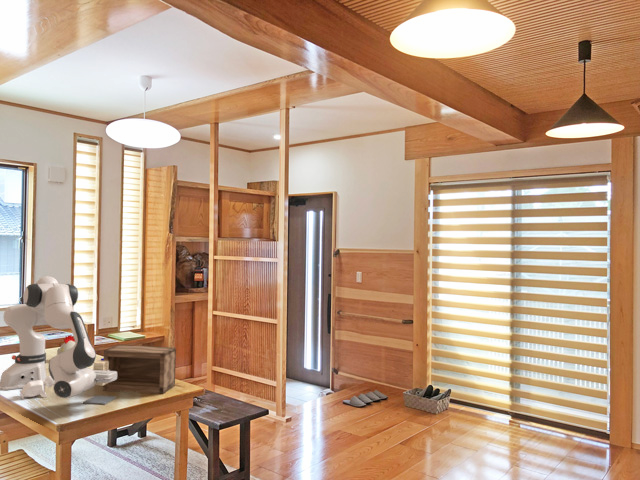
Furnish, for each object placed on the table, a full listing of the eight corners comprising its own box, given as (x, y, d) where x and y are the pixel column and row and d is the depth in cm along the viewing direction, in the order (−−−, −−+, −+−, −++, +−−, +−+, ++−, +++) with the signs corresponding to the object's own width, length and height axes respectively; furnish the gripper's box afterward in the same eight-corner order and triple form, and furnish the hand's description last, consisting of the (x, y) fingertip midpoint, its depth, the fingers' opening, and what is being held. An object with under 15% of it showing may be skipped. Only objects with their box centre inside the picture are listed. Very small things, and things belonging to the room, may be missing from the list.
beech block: (102, 385, 227) (103, 363, 227) (93, 385, 227) (93, 362, 227) (107, 383, 231) (108, 360, 231) (98, 382, 231) (99, 360, 232)
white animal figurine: (26, 406, 227) (61, 390, 235) (18, 389, 226) (54, 373, 233) (24, 401, 234) (59, 385, 242) (17, 385, 233) (52, 369, 240)
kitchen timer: (50, 362, 298) (51, 336, 298) (68, 357, 311) (69, 332, 312) (69, 364, 294) (70, 338, 294) (87, 359, 307) (87, 334, 307)
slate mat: (104, 404, 224) (104, 403, 224) (83, 403, 225) (83, 401, 225) (116, 398, 233) (116, 396, 233) (95, 396, 234) (95, 395, 235)
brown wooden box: (163, 394, 242) (164, 353, 242) (102, 390, 245) (103, 350, 245) (174, 386, 255) (175, 347, 256) (117, 382, 259) (118, 344, 259)
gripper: (108, 372, 215) (124, 365, 229) (62, 370, 217) (80, 363, 231) (107, 388, 215) (123, 379, 229) (61, 385, 217) (80, 377, 231)
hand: (102, 371), depth 230 cm, fingers closed on beech block, 4 cm apart
